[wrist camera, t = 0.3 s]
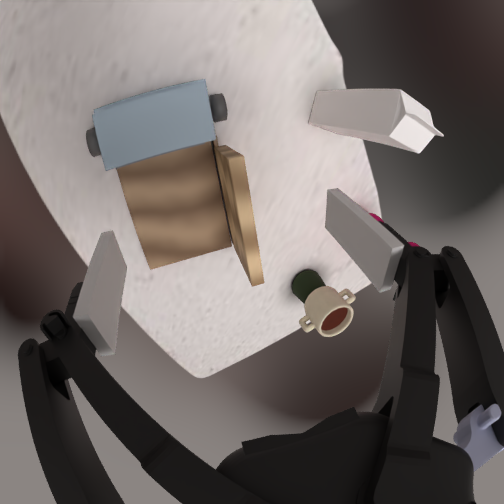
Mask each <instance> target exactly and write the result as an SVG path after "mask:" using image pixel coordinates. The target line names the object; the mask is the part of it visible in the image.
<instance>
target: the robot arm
mask: <svg viewBox="0 0 504 504" xmlns="http://www.w3.org/2000/svg"><path fill="white" fill-rule="evenodd" d="M325 228H326V229H327V230H328V231H329V232H330V234H331V235H332V236H333V237H334V238H335V239H336V240H337V242H338V243H339V244H340V245H341V246H342V247H343V249H344V250H345V251H346V252H347V253H348V254H349V256H350V257H351V258H352V259H353V260H354V262H355V263H356V264H357V265H358V266H359V268H360V269H361V270H362V271H363V272H364V274H365V275H366V276H367V277H368V279H369V280H370V281H371V282H372V284H374V286H375V287H376V289H377V290H378V291H379V292H383V291H386V290H389V289H391V288H392V285H393V281H394V280H395V281H396V282H397V284H398V286H397V289H396V292H395V295H394V298H393V300H395V307H394V315H393V323H392V329H391V336H390V342H389V348H388V353H387V358H386V363H385V369H384V373H383V378H382V382H381V386H380V391H379V395H378V398H377V401H376V403H375V406H374V408H373V410H372V412H356V410H355V408H354V407H352V408H350V409H347V410H345V411H343V412H340V413H337V414H335V415H332V416H330V417H328V418H326V419H325V420H323V421H322V422H320V423H319V424H317V425H315V426H314V427H312V428H311V429H309V430H307V431H306V432H304V433H301V434H286V435H269V436H265V437H261V438H257V439H253V440H249V441H244V442H242V446H243V447H242V448H240V449H238V450H236V451H234V452H233V453H231V454H230V455H229V456H227V457H226V458H225V459H224V460H223V461H222V462H221V463H220V465H219V466H218V467H217V469H216V470H215V469H214V468H213V467H211V466H210V465H208V464H207V463H206V462H204V461H203V460H202V459H200V458H199V457H198V456H196V455H195V454H194V453H192V452H191V451H190V450H188V449H187V448H186V447H185V446H184V445H182V444H181V443H180V442H179V441H178V440H176V439H175V438H174V437H173V436H172V435H171V434H169V433H168V432H167V431H166V430H165V429H164V428H163V427H161V426H160V425H159V424H158V423H157V422H156V421H155V420H154V419H153V418H152V417H151V416H150V415H148V414H147V413H146V412H145V411H144V410H143V409H142V408H141V407H140V406H139V405H138V404H137V403H136V402H135V401H134V400H133V399H132V398H131V397H130V395H129V394H128V393H127V392H126V391H125V390H124V389H123V388H122V387H121V386H120V385H119V384H118V383H117V381H116V380H115V379H114V378H113V377H112V376H111V375H110V374H109V372H108V371H107V370H106V369H105V368H104V366H103V365H102V364H101V363H100V362H99V360H98V359H97V358H96V357H95V352H96V350H97V351H98V352H99V353H100V355H101V356H105V355H114V354H115V351H116V341H117V331H118V324H119V316H120V308H121V302H122V295H123V289H124V283H125V277H126V271H127V266H126V263H125V261H124V258H123V256H122V253H121V251H120V248H119V246H118V243H117V240H116V238H115V235H114V232H113V230H112V231H108V232H104V233H101V236H100V238H99V241H98V243H97V246H96V248H95V251H94V254H93V256H92V259H91V262H90V265H89V267H88V271H87V273H86V276H85V279H84V282H80V283H77V285H76V286H75V287H74V289H73V290H72V293H71V296H70V299H69V302H68V305H67V308H66V311H65V315H64V314H63V312H62V311H60V310H53V311H50V312H49V313H47V314H46V315H45V316H44V317H43V319H42V321H41V325H40V328H41V330H42V332H43V333H44V334H45V336H46V337H47V338H48V339H49V340H47V341H45V342H43V343H41V344H39V343H38V342H37V341H36V340H35V339H28V340H26V341H25V342H23V344H22V345H21V346H20V348H19V351H18V359H19V368H20V369H19V370H20V377H21V385H22V391H23V397H24V402H25V407H26V412H27V416H28V421H29V425H30V429H31V433H32V437H33V441H34V444H35V447H36V451H37V454H38V457H39V460H40V463H41V466H42V469H43V471H44V474H45V477H46V479H47V482H48V484H49V487H50V489H51V492H52V494H53V496H54V498H55V501H56V503H57V504H124V502H123V500H122V498H121V497H120V495H119V494H118V492H117V490H116V489H115V487H114V485H113V484H112V482H111V480H110V478H109V477H108V475H107V473H106V471H105V469H104V467H103V465H102V464H101V461H100V460H99V457H98V455H97V453H96V451H95V449H94V447H93V445H92V442H91V440H90V438H89V436H88V433H87V431H86V429H85V426H84V424H83V421H82V419H81V416H80V414H79V411H78V408H77V405H76V403H75V400H74V397H73V394H72V391H71V388H70V385H69V381H68V379H69V378H72V379H73V380H74V381H75V383H76V385H77V386H78V388H79V389H80V390H81V392H82V393H83V395H84V396H85V397H86V399H87V400H88V402H89V403H90V404H91V406H92V407H93V408H94V410H95V411H96V412H97V414H98V415H99V416H100V417H101V419H102V420H103V421H104V422H105V424H106V425H107V426H108V427H109V428H110V429H111V431H112V432H113V433H114V434H115V435H116V437H117V438H118V439H119V440H120V441H121V442H122V443H123V444H124V445H125V447H126V448H127V449H128V450H129V451H130V452H131V453H132V454H133V455H134V456H135V457H136V458H137V459H138V460H139V461H140V463H141V466H142V468H143V469H144V470H145V471H146V472H147V473H148V474H149V475H150V476H151V477H152V478H153V479H154V480H155V481H156V482H157V483H159V484H160V485H161V486H162V487H163V488H164V489H165V490H166V491H167V492H169V493H170V494H171V495H172V496H173V497H175V498H176V499H177V500H178V501H180V502H181V503H182V504H476V502H475V500H474V494H473V476H474V471H476V470H477V469H478V468H480V467H481V466H482V465H483V464H485V463H486V462H487V461H488V460H490V459H491V458H492V457H493V456H494V455H496V454H497V453H498V452H500V451H502V450H504V352H503V349H502V346H501V343H500V340H499V337H498V334H497V331H496V328H495V326H494V323H493V320H492V318H491V315H490V313H489V310H488V308H487V306H486V303H485V301H484V299H483V297H482V294H481V292H480V290H479V288H478V286H477V284H476V281H475V279H474V277H473V275H472V273H471V271H470V269H469V267H468V266H467V264H466V262H465V260H464V258H463V256H462V254H461V253H460V252H459V251H458V250H457V249H456V248H453V247H449V246H445V247H443V248H442V251H441V253H440V254H431V253H430V252H429V251H428V250H427V249H425V248H423V247H420V246H413V247H412V246H411V245H410V244H409V243H408V242H407V241H406V240H405V239H404V238H403V237H401V236H400V235H398V233H397V232H396V231H394V229H393V228H391V227H390V226H389V225H388V224H386V223H384V222H382V221H377V220H376V219H375V218H373V217H372V216H371V215H370V214H369V213H368V212H366V211H365V210H364V209H363V208H362V207H360V206H359V205H358V204H357V203H356V202H354V201H353V200H352V199H351V198H349V197H348V196H347V195H346V194H345V193H343V192H342V191H341V190H339V189H338V188H336V189H329V190H327V206H326V221H325ZM436 319H437V323H438V327H439V331H440V335H441V339H442V343H443V347H444V352H445V357H446V361H447V367H448V372H449V378H450V384H451V390H452V396H453V404H454V410H455V414H456V418H457V422H458V427H457V432H456V433H455V434H454V442H455V443H456V444H457V446H456V445H453V444H451V443H448V442H445V441H443V440H440V439H438V438H435V437H433V431H434V424H435V418H436V411H437V404H438V394H439V385H440V378H439V376H438V375H436V374H435V373H434V366H435V348H436V347H435V346H436Z"/></svg>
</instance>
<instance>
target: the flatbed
mask: <svg viewBox="0 0 504 504" xmlns="http://www.w3.org/2000/svg"><path fill="white" fill-rule="evenodd" d="M212 143H213V149H214V147H219V146H218V141H217V136H216V139H215V140H213V141H212ZM214 154H215V150H214ZM215 159H216V155H215ZM216 164H217V160H216ZM217 169H218V165H217ZM117 172H118V175H119V179H120V182H121V186H122V189H123V192H124V196H125V199H126V202H127V205H128V208H129V211H130V214H131V217H132V220H133V223H134V226H135V229H136V232H137V235H138V238H139V241H140V243H141V246H142V249H143V252H144V254H145V257H146V259H147V262H148V265H149V267H150V270H151V269H155V268H158V267H161V266H165V265H168V264H172V263H175V262H179V261H182V260H186V259H189V258H192V257H196V256H199V255H203V254H206V253H210V252H213V251H217V250H220V249H224V248H228V247H231V246H232V244H231V239H230V234H229V229H230V225H229V229H228V225H227V220H226V215H225V210H224V205H223V200H222V195H221V190H220V185H219V180H218V175H217V170H216V165H215V160H214V155H213V150H212V145H211V141H209V142H205V144H202V145H198V146H194V147H190V148H186V149H182V150H178V151H174V152H171V153H167V154H163V155H160V156H156V157H153V158H149V159H146V160H143V161H140V162H136V163H133V164H130V165H127V166H124V167H121V168H118V169H117ZM218 174H219V170H218ZM219 179H220V175H219ZM220 184H221V180H220ZM221 189H222V185H221ZM222 194H223V190H222ZM223 199H224V196H223ZM224 204H225V200H224ZM225 209H226V205H225ZM226 214H227V210H226ZM227 219H228V215H227ZM228 224H229V220H228ZM230 233H231V230H230ZM231 238H232V235H231ZM232 243H233V240H232ZM233 245H234V244H233Z"/></svg>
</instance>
